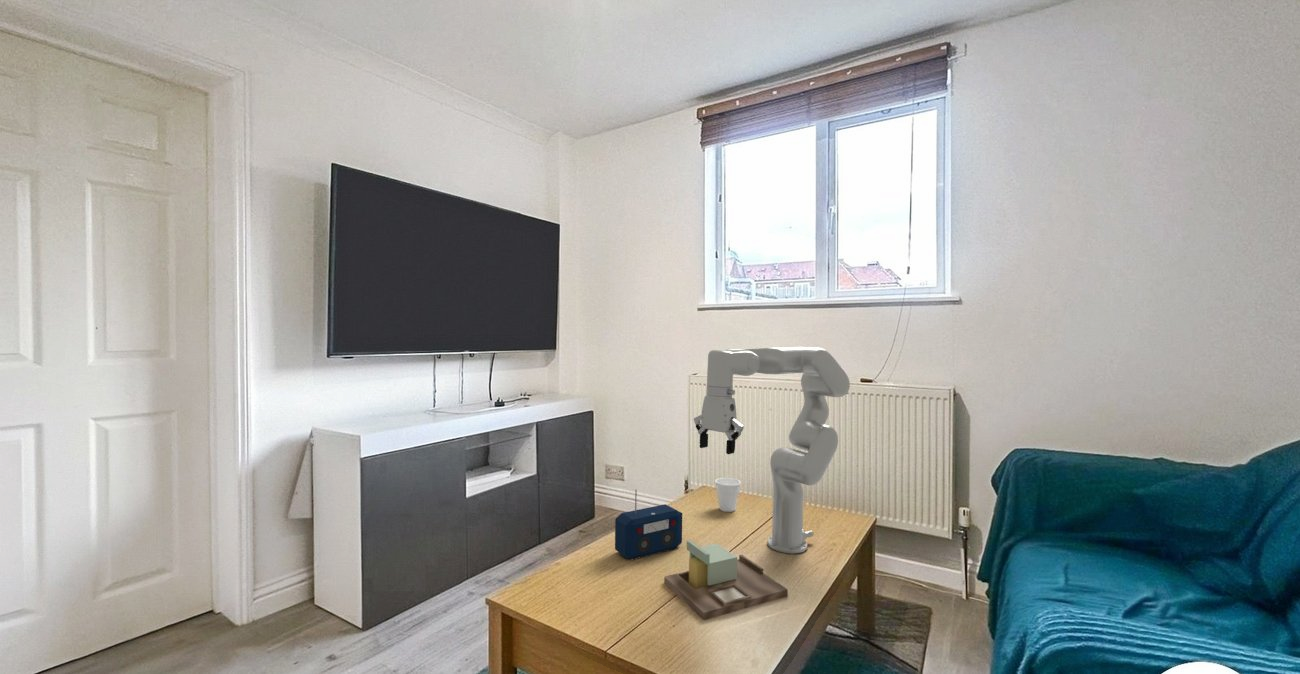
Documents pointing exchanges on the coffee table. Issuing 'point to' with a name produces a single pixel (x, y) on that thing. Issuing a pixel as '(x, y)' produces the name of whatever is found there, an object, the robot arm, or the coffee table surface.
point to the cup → (727, 493)
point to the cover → (715, 562)
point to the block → (698, 573)
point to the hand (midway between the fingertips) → (716, 450)
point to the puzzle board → (728, 591)
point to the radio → (648, 531)
